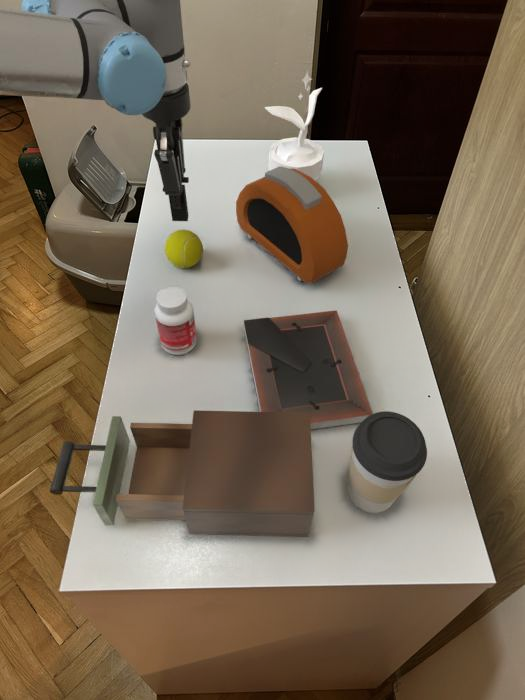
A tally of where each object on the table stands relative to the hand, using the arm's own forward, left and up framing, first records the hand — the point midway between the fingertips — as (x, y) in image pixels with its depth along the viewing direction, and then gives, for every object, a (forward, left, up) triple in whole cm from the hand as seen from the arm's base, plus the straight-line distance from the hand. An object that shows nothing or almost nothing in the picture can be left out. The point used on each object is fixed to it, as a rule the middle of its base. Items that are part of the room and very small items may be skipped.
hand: (180, 218), depth 94 cm
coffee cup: (+31, -46, -11) cm, 56 cm away
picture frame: (+22, -26, -11) cm, 35 cm away
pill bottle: (+1, -20, -11) cm, 22 cm away
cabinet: (+14, -46, -11) cm, 49 cm away
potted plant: (+21, +24, -11) cm, 34 cm away
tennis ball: (0, 0, -11) cm, 11 cm away
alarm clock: (+20, +4, -11) cm, 23 cm away
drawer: (-1, -46, -10) cm, 47 cm away
